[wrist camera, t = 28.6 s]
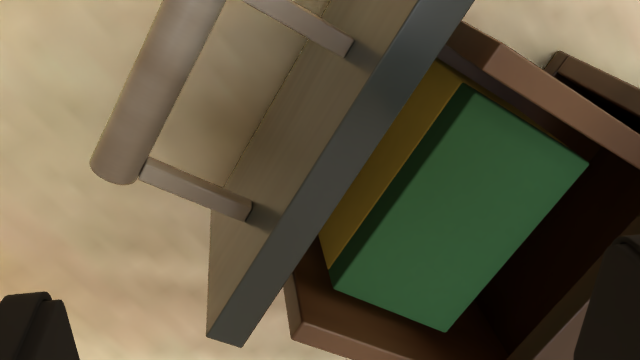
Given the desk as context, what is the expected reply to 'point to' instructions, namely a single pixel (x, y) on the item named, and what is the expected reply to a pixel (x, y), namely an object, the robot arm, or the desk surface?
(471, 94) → the sponge
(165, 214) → the desk surface
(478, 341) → the drawer
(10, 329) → the robot arm
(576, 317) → the cabinet
